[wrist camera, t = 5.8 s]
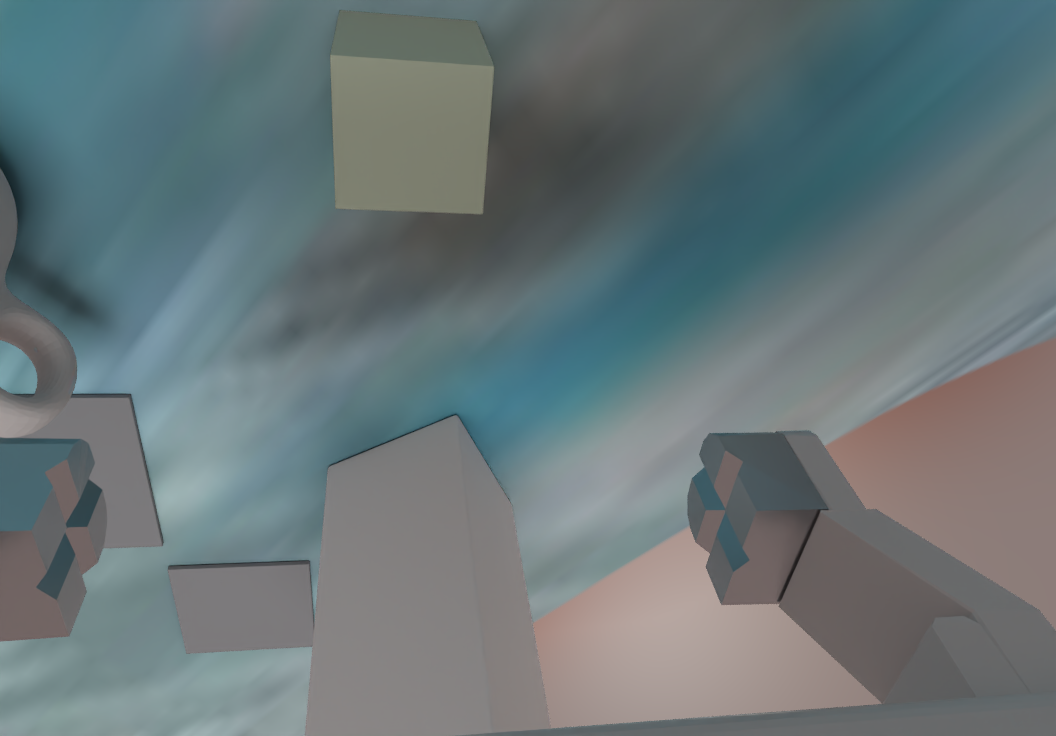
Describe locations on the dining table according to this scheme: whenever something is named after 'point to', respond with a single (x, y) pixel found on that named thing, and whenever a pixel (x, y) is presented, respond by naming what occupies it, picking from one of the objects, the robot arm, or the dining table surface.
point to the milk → (422, 597)
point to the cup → (30, 344)
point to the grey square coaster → (244, 606)
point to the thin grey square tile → (112, 464)
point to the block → (410, 113)
